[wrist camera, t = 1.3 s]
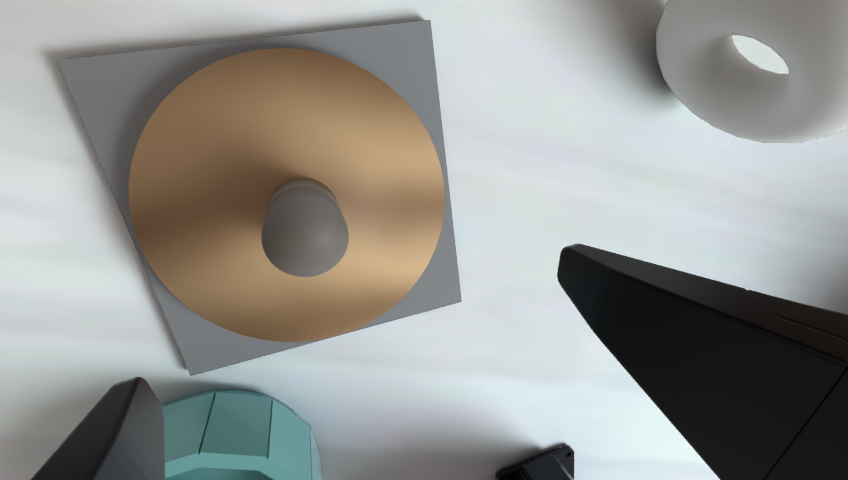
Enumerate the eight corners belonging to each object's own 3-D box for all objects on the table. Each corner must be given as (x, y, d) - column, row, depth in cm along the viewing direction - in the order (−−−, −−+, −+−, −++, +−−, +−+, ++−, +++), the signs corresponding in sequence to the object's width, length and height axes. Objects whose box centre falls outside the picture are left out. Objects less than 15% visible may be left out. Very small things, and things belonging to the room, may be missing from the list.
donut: (610, 10, 22) (836, -53, 13) (656, -37, 22) (918, -135, 12) (681, 146, 26) (888, 173, 17) (720, 107, 26) (950, 113, 17)
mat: (458, 297, 25) (461, 301, 24) (192, 370, 21) (190, 376, 21) (427, 21, 19) (430, 19, 19) (62, 60, 16) (56, 59, 15)
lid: (452, 295, 24) (487, 339, 20) (198, 365, 21) (172, 436, 16) (420, 32, 19) (458, 13, 14) (76, 72, 16) (-7, 63, 11)
